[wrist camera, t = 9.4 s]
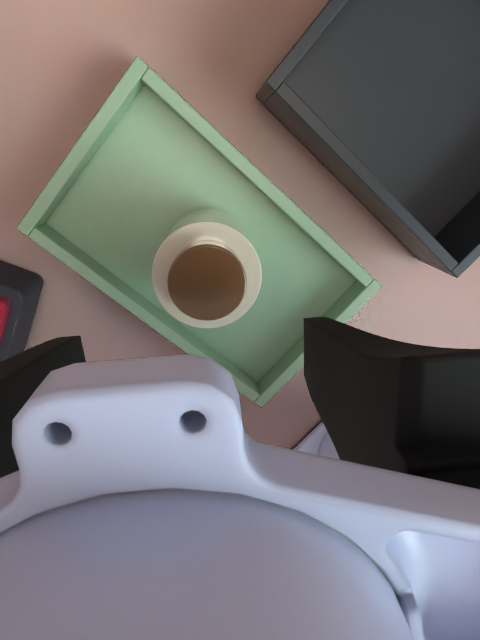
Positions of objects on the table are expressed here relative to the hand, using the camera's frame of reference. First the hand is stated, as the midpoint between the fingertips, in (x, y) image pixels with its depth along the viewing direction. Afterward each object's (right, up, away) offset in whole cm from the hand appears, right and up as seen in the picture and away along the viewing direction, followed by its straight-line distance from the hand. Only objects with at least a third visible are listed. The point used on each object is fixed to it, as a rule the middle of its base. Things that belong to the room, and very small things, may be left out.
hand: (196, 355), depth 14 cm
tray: (0, +5, +9) cm, 10 cm away
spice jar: (0, +5, +8) cm, 9 cm away
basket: (+11, +12, +7) cm, 17 cm away
